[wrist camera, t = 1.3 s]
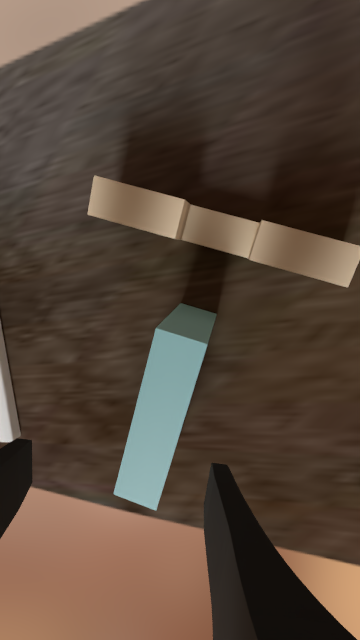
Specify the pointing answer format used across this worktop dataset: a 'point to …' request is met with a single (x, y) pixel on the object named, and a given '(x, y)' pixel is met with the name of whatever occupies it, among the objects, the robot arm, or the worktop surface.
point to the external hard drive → (7, 399)
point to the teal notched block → (163, 403)
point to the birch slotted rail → (225, 231)
